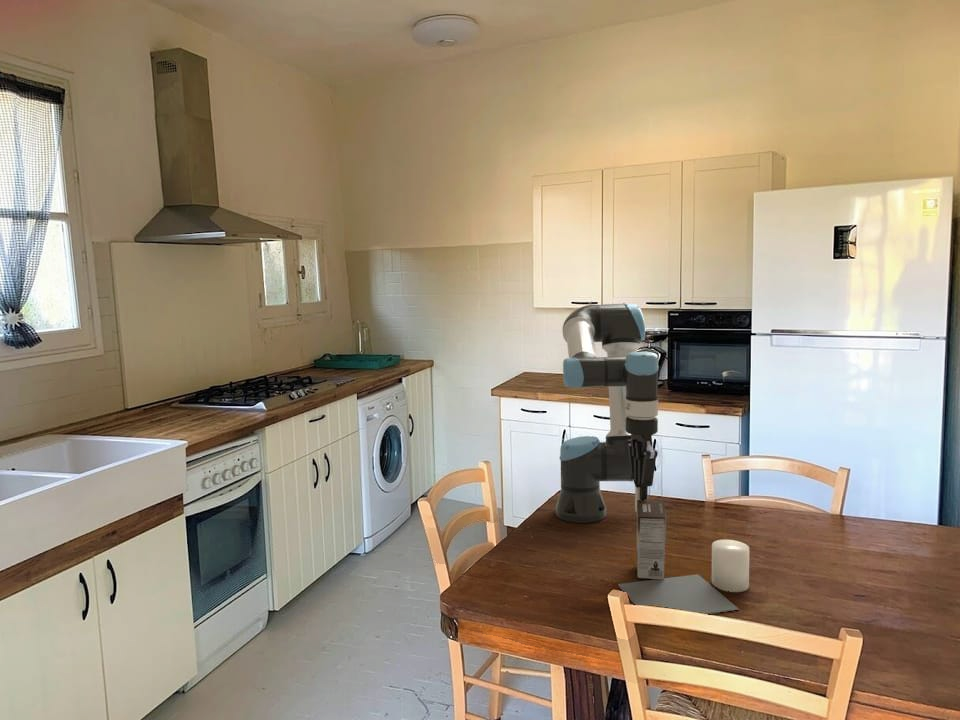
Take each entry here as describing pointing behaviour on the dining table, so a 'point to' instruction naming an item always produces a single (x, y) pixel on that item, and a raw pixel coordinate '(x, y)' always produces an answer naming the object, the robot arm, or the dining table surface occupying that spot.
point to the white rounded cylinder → (730, 565)
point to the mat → (679, 594)
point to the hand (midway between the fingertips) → (641, 511)
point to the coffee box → (651, 539)
